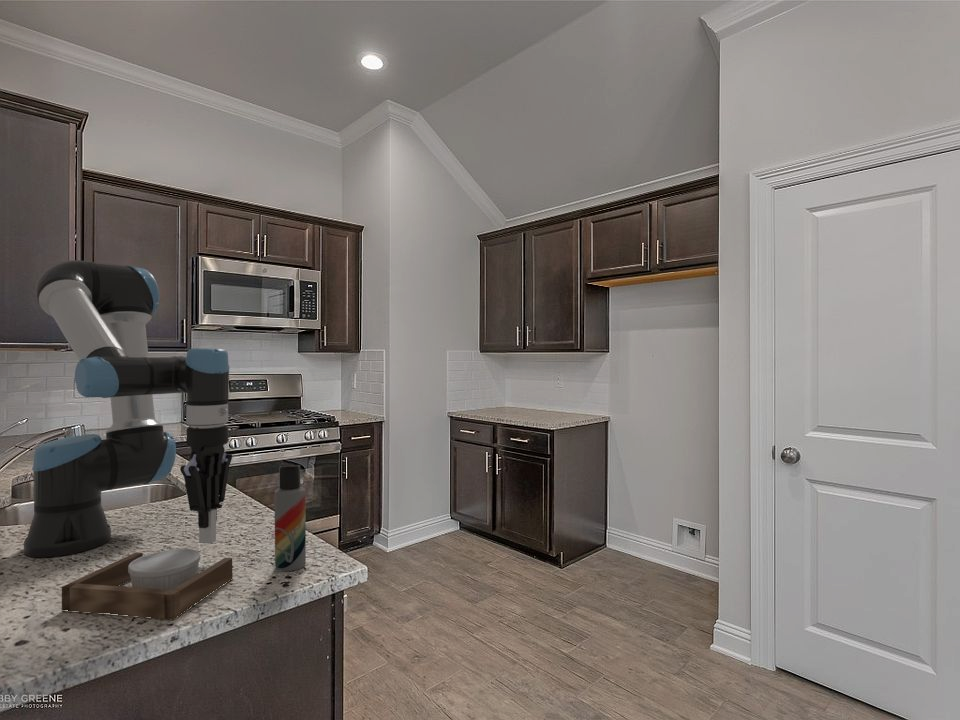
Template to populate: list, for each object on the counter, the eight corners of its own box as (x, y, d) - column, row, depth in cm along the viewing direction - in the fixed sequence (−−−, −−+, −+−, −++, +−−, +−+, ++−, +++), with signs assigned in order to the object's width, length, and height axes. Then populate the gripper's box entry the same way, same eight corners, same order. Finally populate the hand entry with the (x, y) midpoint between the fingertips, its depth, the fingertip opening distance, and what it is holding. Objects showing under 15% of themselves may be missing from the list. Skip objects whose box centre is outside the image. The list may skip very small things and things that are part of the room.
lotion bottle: (275, 574, 101) (274, 468, 101) (274, 563, 106) (273, 463, 106) (307, 569, 103) (306, 466, 103) (304, 558, 108) (303, 460, 108)
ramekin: (154, 575, 101) (154, 547, 101) (212, 575, 101) (212, 547, 101) (112, 603, 90) (112, 571, 90) (178, 603, 89) (177, 572, 89)
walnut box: (61, 611, 86) (61, 586, 86) (135, 573, 101) (135, 552, 101) (173, 620, 83) (172, 594, 83) (232, 579, 98) (232, 558, 98)
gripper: (203, 430, 100) (203, 555, 100) (244, 421, 113) (243, 532, 113) (167, 429, 101) (167, 552, 102) (211, 420, 114) (211, 529, 114)
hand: (207, 541), depth 107 cm, fingers closed
